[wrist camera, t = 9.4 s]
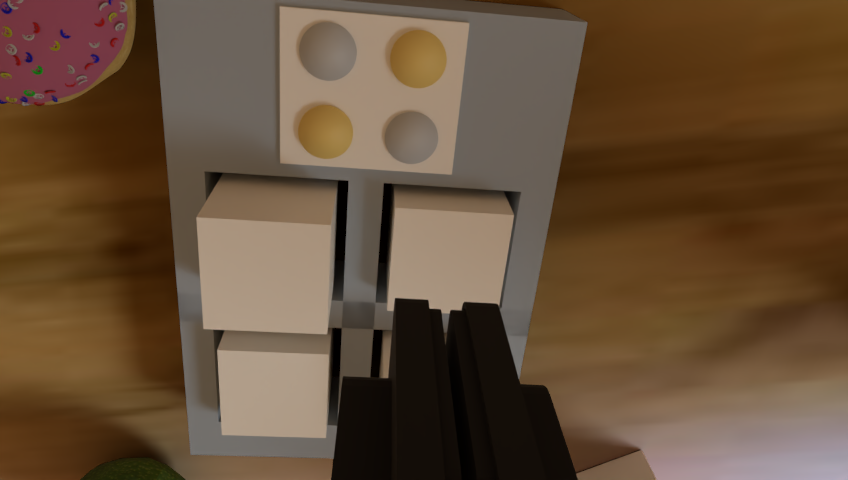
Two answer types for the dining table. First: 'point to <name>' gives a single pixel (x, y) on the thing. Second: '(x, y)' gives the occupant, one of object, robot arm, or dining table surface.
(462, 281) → the button
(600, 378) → the dining table surface
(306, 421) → the button
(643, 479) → the milk
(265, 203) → the button
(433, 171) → the board
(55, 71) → the cupcake
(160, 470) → the avocado
